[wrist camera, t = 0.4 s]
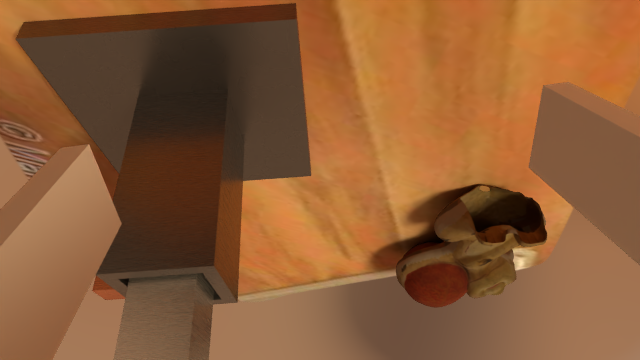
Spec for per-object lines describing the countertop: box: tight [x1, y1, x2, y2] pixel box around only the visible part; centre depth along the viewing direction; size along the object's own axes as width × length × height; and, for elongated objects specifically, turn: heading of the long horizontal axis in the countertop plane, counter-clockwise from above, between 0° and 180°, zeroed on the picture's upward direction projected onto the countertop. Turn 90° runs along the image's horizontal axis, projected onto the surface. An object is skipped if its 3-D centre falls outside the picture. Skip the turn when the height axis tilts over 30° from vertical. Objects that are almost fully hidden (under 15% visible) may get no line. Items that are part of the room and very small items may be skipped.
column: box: [114, 273, 214, 360], centre depth 23 cm, size 6×6×28 cm
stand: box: [16, 3, 311, 304], centre depth 28 cm, size 16×16×14 cm
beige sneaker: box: [396, 185, 547, 307], centre depth 48 cm, size 15×9×20 cm
